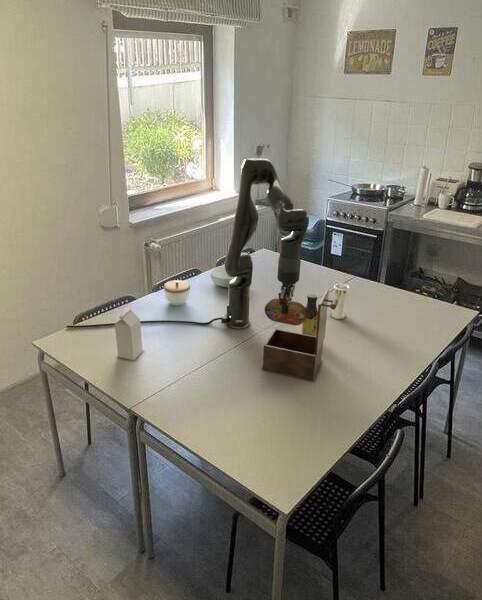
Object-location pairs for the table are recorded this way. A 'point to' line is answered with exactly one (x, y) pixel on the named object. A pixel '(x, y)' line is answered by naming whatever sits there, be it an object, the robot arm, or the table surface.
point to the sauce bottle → (310, 316)
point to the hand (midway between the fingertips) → (285, 311)
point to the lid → (323, 319)
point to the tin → (293, 316)
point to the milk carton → (128, 336)
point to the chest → (291, 354)
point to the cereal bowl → (220, 276)
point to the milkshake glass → (340, 300)
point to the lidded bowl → (177, 292)
